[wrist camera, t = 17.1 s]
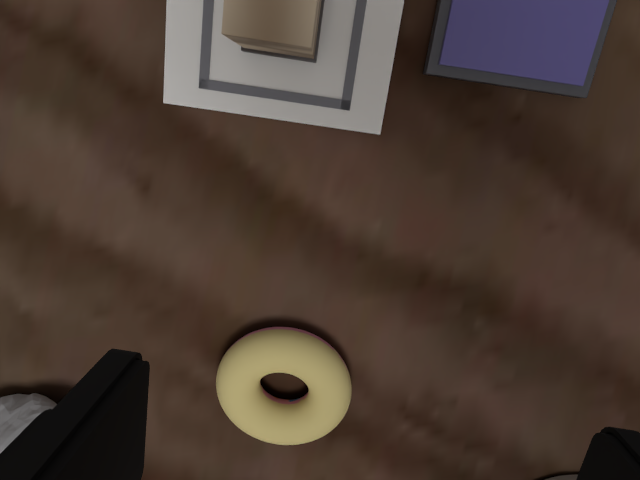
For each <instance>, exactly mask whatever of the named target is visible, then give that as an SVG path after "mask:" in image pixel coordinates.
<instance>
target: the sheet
mask: <svg viewBox="0 0 640 480" xmlns="http://www.w3.org/2000/svg"><path fill="white" fill-rule="evenodd" d="M223 4H224V0H167V7H166V37H165V67H164V97H163V103H167V104H174V105H181V106H188V107H195V108H201V109H208V110H215V111H222V112H229V113H236V114H242V115H249V116H256V117H263V118H270V119H276V120H283V121H290V122H297V123H304V124H310V125H317V126H324V127H331V128H338V129H344V130H351V131H358V132H365V133H372V134H378V135H380V133H381V128H382V122H383V117H384V111H385V105H386V100H387V94H388V89H389V83H390V77H391V72H392V66H393V61H394V55H395V49H396V44H397V38H398V33H399V27H400V22H401V16H402V10H403V5H404V0H325V1H324V8H323V16H322V23H321V31H320V38H319V46H318V54H317V61H316V63H312V62H306V61H299V60H293V59H287V58H280V57H274V56H267V55H261V54H254V53H248V52H243V51H241V46H240V45H238V44H237V43H235V42H234V41H232V40H230V39H229V38H227V37H226V36H224V35H223V34H221V32H222V18H223Z"/></svg>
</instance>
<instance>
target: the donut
mask: <svg viewBox="0 0 640 480" xmlns="http://www.w3.org/2000/svg"><path fill="white" fill-rule="evenodd" d="M277 372H281V373H288V374H291V375H294V376H296V377H298V378H300V379H301V380H302V381H304V382H305V383H306V385H307V386H308V389H309V391H308V393H307V394H306V395H305V396H303V397H301V398H298V399H293V400H286V399H280V398H277V397H274V396H272V395H270V394H269V393H267V392H266V391H265V390H264V389H263V388H262V386H261V384H260V380H261V378H262V377H264V376H265V375H267V374H270V373H277ZM216 389H217V395H218V399H219V401H220V404H221V406H222V408H223V410H224V412H225V413H226V415H227V416H228V417H229V419H230V420H231V421H232V422H233V423H234V424H235V425H236V426H237V427H238V428H240V429H241V430H242V431H244V432H245V433H247V434H249V435H250V436H252V437H254V438H257V439H259V440H262V441H265V442H269V443H273V444H280V445H297V444H303V443H308V442H311V441H314V440H316V439H319V438H321V437H323V436H324V435H326V434H328V433H329V432H330V431H332V430H333V429H334V428H335V427H336V426H337V425H338V424H339V423H340V422H341V420H342V419H343V417H344V416H345V414H346V412H347V410H348V407H349V404H350V400H351V393H352V386H351V379H350V375H349V371H348V369H347V366H346V364H345V362H344V361H343V359H342V358H341V356H340V355H339V354H338V352H337V351H336V350H335V349H334V348H333V347H332V346H331V345H330V344H328V343H327V342H326V341H324V340H323V339H321V338H320V337H318V336H316V335H314V334H312V333H310V332H307V331H304V330H301V329H297V328H291V327H269V328H264V329H260V330H256V331H254V332H251V333H249V334H247V335H245V336H243V337H242V338H240V339H239V340H238V341H236V342H235V343H234V344H233V345H232V346H231V347H230V348H229V349H228V350H227V352H226V353H225V355H224V356H223V358H222V360H221V362H220V365H219V367H218V371H217V377H216Z"/></svg>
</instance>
